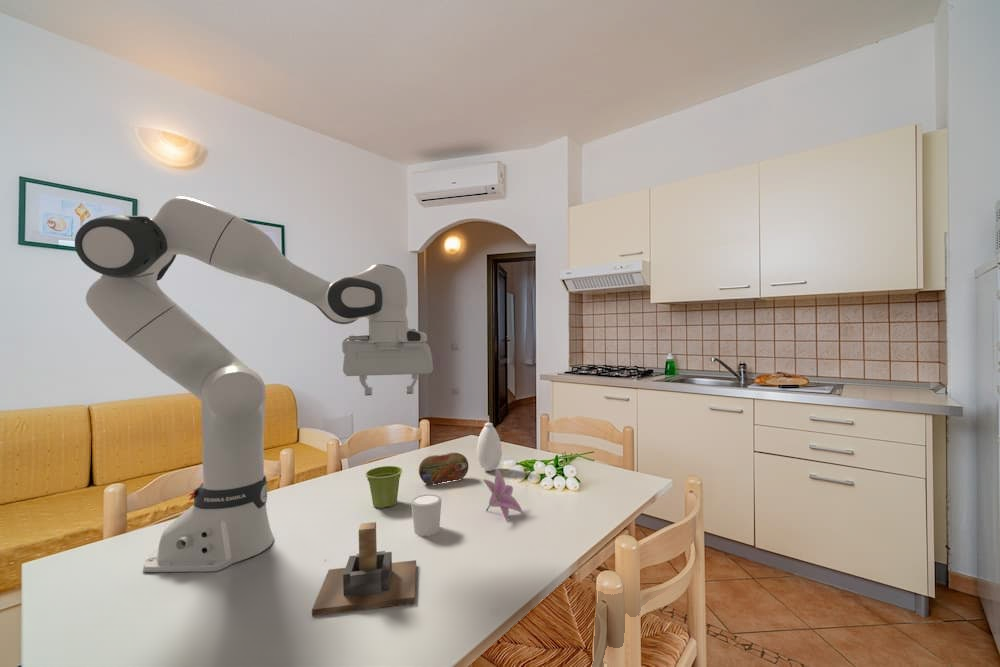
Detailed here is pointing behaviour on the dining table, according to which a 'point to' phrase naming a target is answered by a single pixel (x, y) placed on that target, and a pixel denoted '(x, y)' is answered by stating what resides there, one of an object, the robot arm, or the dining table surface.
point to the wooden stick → (367, 546)
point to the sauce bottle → (489, 448)
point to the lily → (502, 495)
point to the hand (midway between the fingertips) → (389, 394)
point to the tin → (443, 468)
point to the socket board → (367, 586)
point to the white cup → (426, 514)
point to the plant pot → (384, 485)
